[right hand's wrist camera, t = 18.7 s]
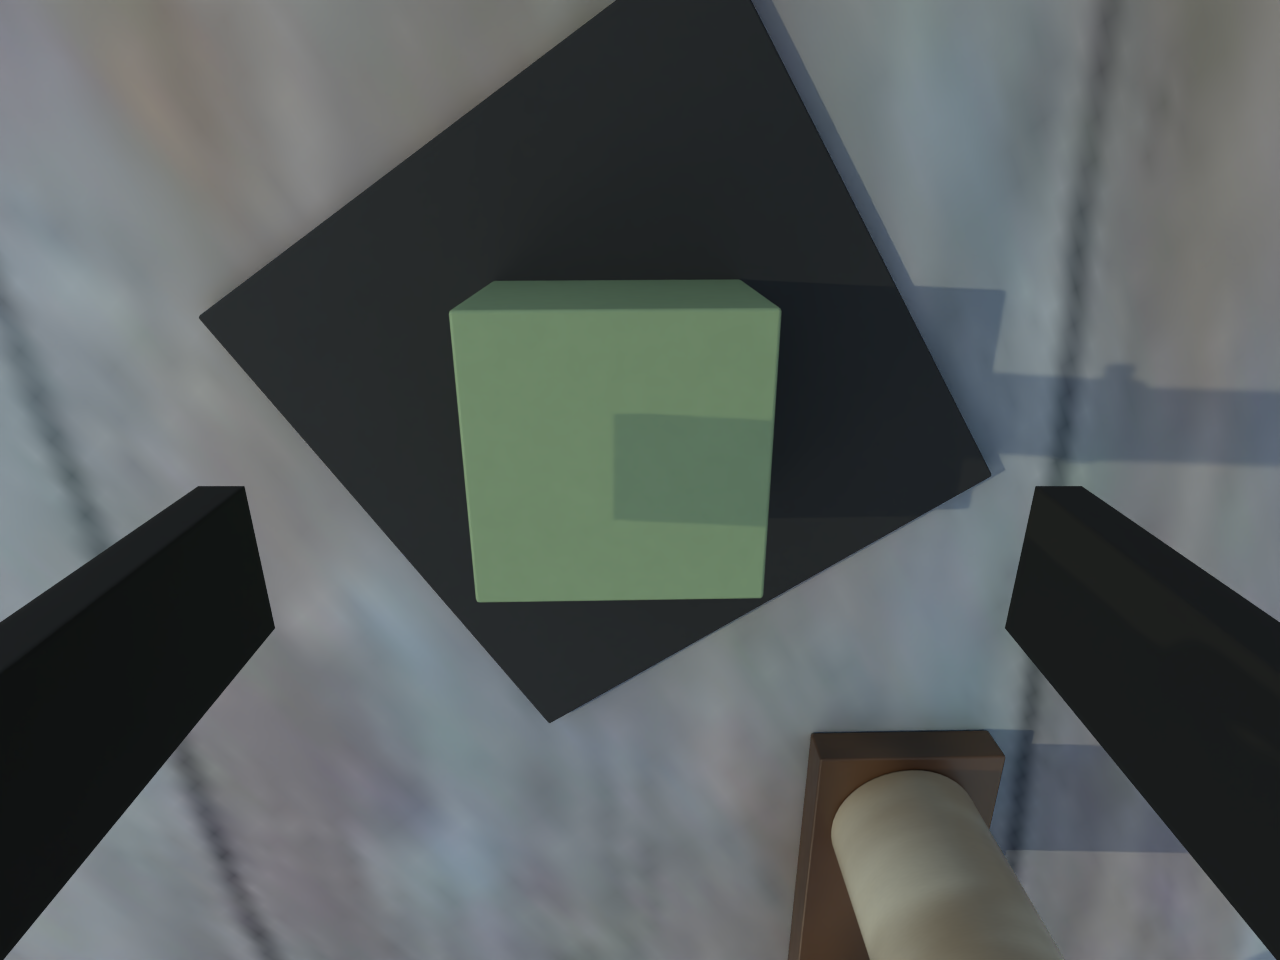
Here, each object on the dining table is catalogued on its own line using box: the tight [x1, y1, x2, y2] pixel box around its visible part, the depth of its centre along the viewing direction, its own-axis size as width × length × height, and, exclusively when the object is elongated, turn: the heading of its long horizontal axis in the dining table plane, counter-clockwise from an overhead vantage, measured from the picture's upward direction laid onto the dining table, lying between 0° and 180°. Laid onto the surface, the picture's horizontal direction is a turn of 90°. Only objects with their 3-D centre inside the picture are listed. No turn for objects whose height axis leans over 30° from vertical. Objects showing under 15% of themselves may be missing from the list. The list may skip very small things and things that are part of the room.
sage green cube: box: [449, 279, 781, 602], centre depth 20 cm, size 7×7×6 cm
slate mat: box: [199, 0, 991, 723], centre depth 24 cm, size 18×18×1 cm
